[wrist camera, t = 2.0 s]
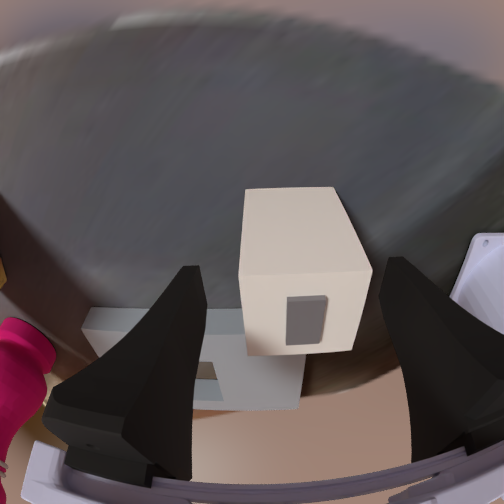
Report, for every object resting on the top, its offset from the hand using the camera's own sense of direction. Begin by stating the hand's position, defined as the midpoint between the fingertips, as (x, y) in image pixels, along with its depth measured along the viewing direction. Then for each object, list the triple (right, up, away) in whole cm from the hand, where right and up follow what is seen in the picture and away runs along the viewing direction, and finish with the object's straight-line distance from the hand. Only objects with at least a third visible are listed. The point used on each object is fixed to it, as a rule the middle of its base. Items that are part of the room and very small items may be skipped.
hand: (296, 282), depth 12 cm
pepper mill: (-22, -7, +11) cm, 26 cm away
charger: (0, +2, +3) cm, 4 cm away
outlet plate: (-5, -6, +10) cm, 13 cm away
